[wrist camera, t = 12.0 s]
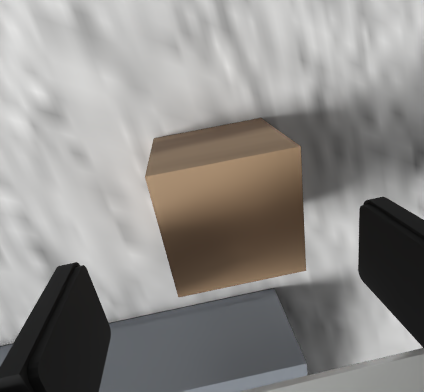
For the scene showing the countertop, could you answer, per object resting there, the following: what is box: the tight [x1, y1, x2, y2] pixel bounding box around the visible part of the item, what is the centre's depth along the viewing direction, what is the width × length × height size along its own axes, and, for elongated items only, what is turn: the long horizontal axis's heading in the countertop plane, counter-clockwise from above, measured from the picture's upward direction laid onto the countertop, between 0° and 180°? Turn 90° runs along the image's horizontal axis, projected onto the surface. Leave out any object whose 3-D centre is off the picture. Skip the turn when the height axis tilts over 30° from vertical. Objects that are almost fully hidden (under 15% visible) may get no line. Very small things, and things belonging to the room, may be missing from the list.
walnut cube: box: [145, 118, 306, 297], centre depth 13 cm, size 5×5×5 cm
